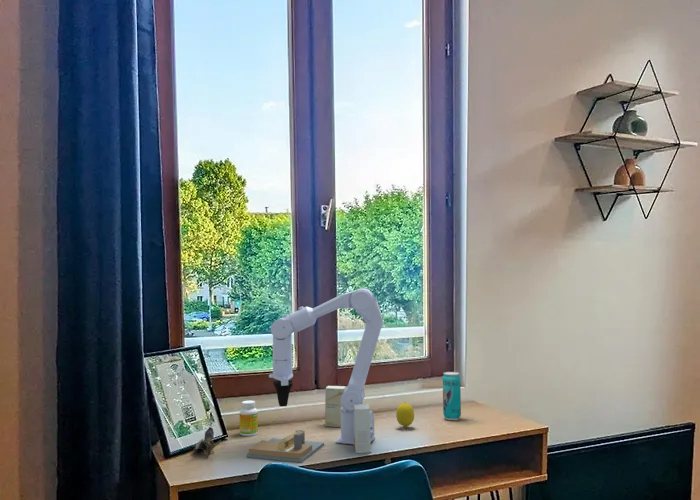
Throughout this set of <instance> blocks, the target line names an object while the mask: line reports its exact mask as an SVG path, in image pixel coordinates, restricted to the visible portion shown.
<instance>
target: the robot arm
mask: <svg viewBox="0 0 700 500" xmlns="http://www.w3.org/2000/svg"><path fill="white" fill-rule="evenodd" d="M351 308H353V309H354V310H355V311H356V312H357V313H358V314H360V316H361V318H362V319H363V321H364V323H365V328H364V330H363V331H364V332H363V335H362V337H361V342H360V345H359V348H358V351H357V355H356V359H355V361H354V362H355V363H354V365H353V368H352V372H351V374H350V375H351V376H350V377H349V378H350V379H349V381H348V384H347V386H346V388H345V390H344V393H343V394H342V396H341V405H342V407H341V427H340V437H339V438H338V439H336V441H335V442H336V444H346V445H347V444H348V445H355V444H354V404H364V399H365V394H366V393H365V386H366V381H367V378H368V374H369V370H370V367H371V363H372V360H373V358H374V353H375V350H376V346H377V343H378V340H379V336H380V333H381V329H382V326H383V323H384V318H383V316H382V312H381V309H380V306H379V303H378V299H377V298H376V296H375V295H374V293H373V292H372V290H370V289H368V288H366V287H365V288H364V287H362V288H359V289H357V290H353V291H349V292H346V293H342V294H340V295H337V296H336V297H334V298H331V299H329V300H327V301H326V302H323V303H321V304H320V305H318V306H314V307H313V308H312V307H309V306H307V305H306V306H305V307H304V306H300V307H298V308H297V309H298V310H296V311H294V312H292V313H290V314H288V313H285V314H284V315H283V317H281V318H277V320H275V321H274V322H272V323H271V325H270V332H271V335H272V373H271V374H268V378H270V379H271V378H272V379H274V381H273V380H272V384H273V386H274V388H275V391H276V396H277V401H278V405H279V407H280V408H281V407H287V406H288V403H289V396H290V392H291V390H292V387H293V385H294V382H293V380H292V378H293V377H294V374H293V343H292V339H293V338H292V334H293V333H294V334H296V333H298V332H300V331H304V330H305V329H307V328H310V327H312V326H314V325H315V324H316V321H317V320H318V319H319V318H320V317H322V316H325V315H327V314H329V313H330V314H331V313H332V312H334V311H336V310H338V309H351ZM375 439H376V436H375V415H374V412H373V411H372V410H370V441H371V443H372V442H373V441H374V440H375Z"/></svg>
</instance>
